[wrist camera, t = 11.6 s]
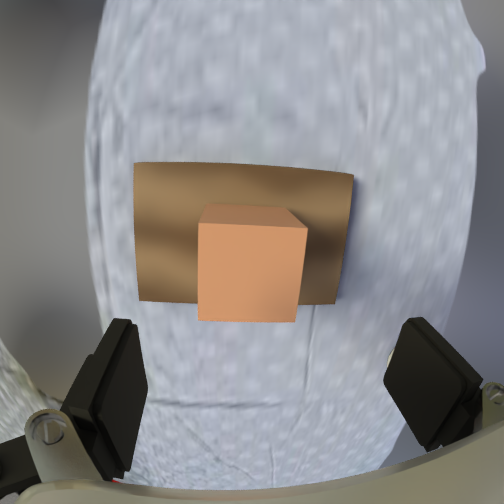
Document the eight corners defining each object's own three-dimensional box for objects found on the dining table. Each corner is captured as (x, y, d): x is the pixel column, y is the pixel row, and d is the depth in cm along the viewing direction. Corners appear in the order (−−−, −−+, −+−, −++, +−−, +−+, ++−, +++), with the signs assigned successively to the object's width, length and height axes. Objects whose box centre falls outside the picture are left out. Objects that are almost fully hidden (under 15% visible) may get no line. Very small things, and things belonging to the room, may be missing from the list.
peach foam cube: (206, 203, 22) (198, 223, 16) (285, 207, 23) (307, 228, 17) (204, 277, 24) (197, 320, 18) (277, 279, 25) (295, 322, 18)
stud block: (140, 162, 24) (100, 167, 15) (344, 173, 26) (397, 184, 17) (144, 291, 27) (117, 345, 19) (328, 295, 29) (364, 346, 21)
